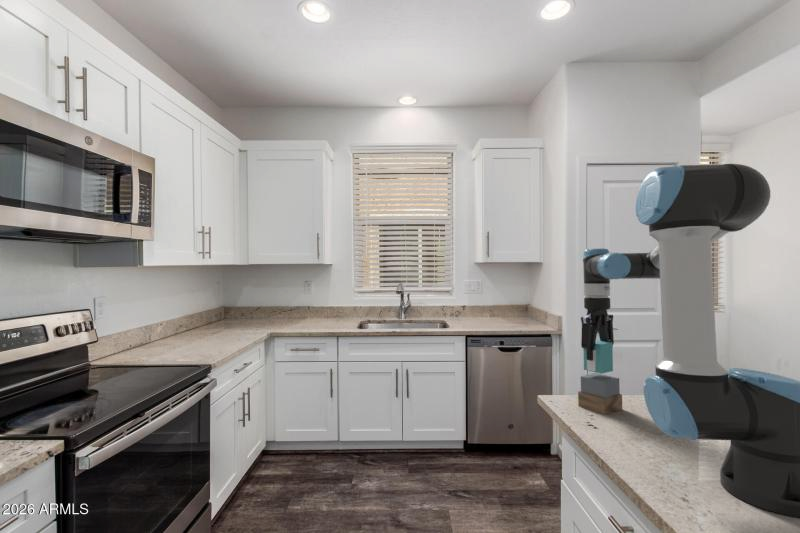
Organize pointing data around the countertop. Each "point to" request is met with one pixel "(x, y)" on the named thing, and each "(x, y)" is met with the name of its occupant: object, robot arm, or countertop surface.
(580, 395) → the walnut base
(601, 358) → the teal block
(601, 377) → the charcoal block
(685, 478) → the countertop surface
